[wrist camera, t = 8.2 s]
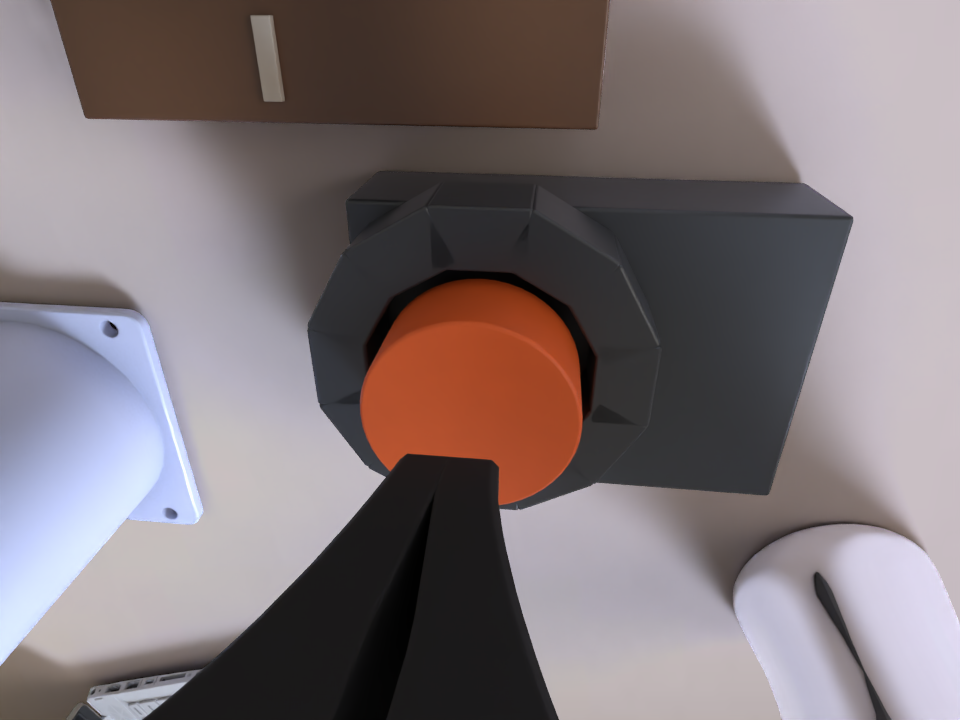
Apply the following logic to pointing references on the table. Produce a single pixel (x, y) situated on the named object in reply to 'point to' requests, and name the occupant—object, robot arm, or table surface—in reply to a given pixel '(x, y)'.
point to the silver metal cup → (851, 626)
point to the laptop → (130, 697)
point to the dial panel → (340, 61)
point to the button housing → (608, 308)
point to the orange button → (478, 384)
